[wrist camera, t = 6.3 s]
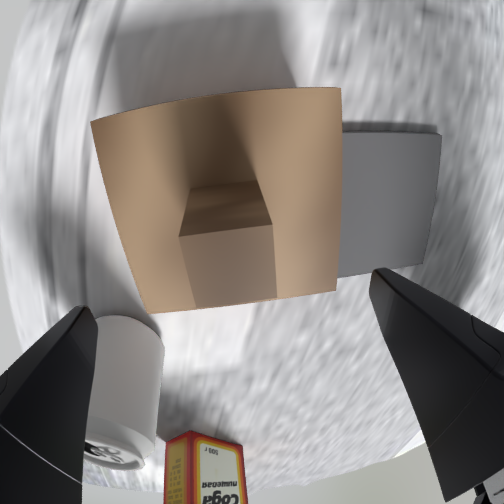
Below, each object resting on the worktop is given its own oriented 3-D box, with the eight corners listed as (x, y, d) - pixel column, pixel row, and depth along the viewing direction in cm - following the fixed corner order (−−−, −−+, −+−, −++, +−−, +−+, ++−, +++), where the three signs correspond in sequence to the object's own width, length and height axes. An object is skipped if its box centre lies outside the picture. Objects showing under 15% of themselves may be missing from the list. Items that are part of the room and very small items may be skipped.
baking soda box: (165, 442, 38) (163, 538, 24) (190, 430, 36) (191, 538, 22) (215, 456, 42) (221, 542, 28) (242, 445, 40) (252, 540, 26)
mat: (437, 133, 18) (441, 135, 18) (419, 259, 24) (422, 263, 23) (324, 131, 18) (327, 133, 17) (323, 275, 24) (325, 280, 23)
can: (78, 306, 23) (31, 425, 13) (158, 308, 24) (137, 445, 14) (101, 361, 27) (76, 466, 17) (171, 365, 28) (163, 480, 18)
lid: (333, 87, 12) (392, 95, 8) (331, 280, 18) (362, 348, 13) (98, 118, 12) (38, 144, 7) (150, 303, 18) (134, 376, 13)
